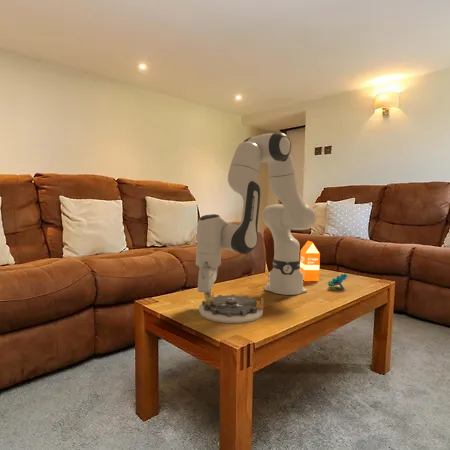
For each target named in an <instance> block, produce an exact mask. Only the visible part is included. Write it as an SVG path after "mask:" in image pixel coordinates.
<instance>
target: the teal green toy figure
mask: <svg viewBox="0 0 450 450" xmlns="http://www.w3.org/2000/svg"><path fill="white" fill-rule="evenodd" d="M347 278H348V274H347V273H344V274H343V273H342V274H340V275H337V276H336V278H335V277H333V278H332V280H329V281H327V285H328V287H329V286H331V287H330V288H332V289H333V290H334V289H336V287H335V286H340V288H341V289H342V288H343V289H344V290H345V288H344V286H343V284H342V283H343V282H344V280H346V279H347Z"/></svg>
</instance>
